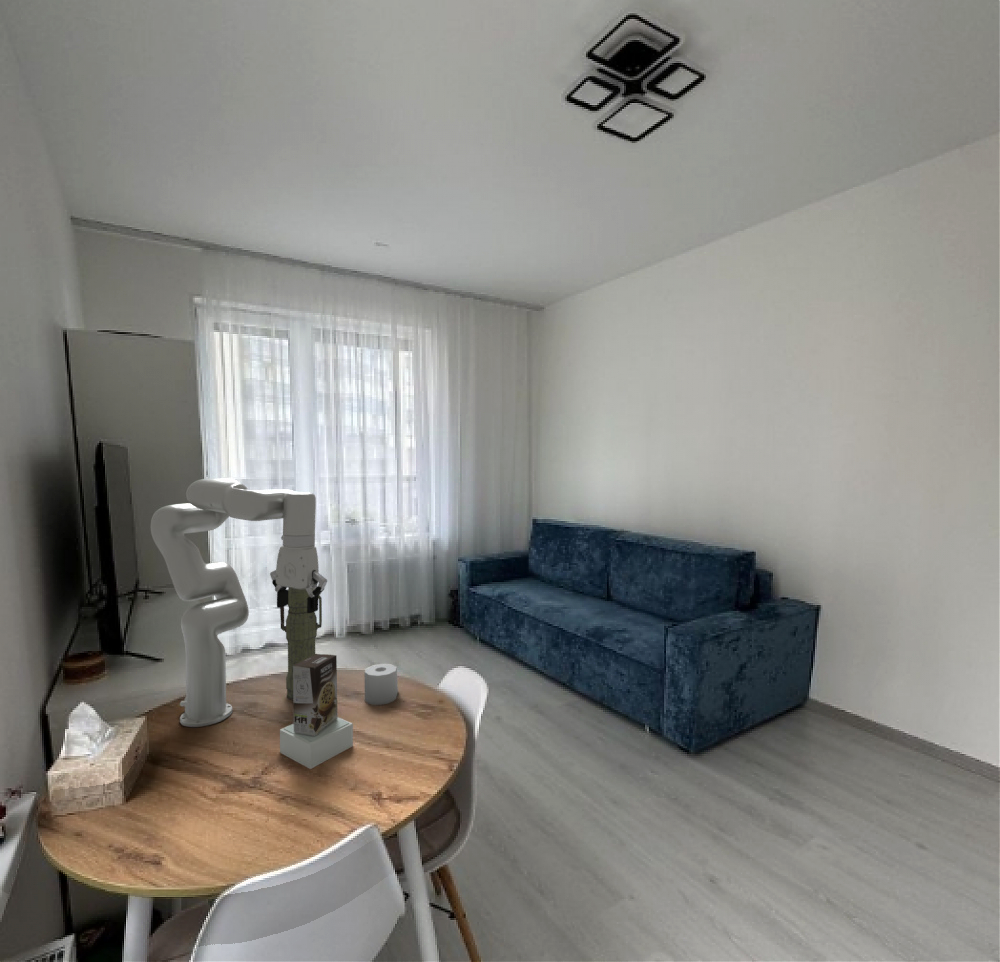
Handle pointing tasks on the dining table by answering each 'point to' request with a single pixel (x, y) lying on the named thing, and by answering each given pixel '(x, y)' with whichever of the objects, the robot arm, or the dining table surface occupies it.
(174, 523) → the robot arm
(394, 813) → the dining table surface
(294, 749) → the ceramic box
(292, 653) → the thermos
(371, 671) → the toilet tissue
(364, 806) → the dining table surface
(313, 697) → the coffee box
